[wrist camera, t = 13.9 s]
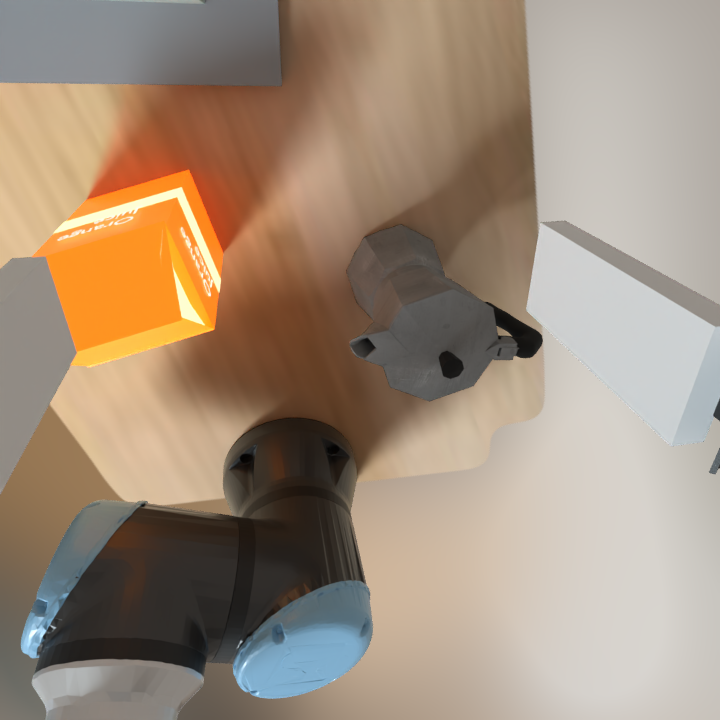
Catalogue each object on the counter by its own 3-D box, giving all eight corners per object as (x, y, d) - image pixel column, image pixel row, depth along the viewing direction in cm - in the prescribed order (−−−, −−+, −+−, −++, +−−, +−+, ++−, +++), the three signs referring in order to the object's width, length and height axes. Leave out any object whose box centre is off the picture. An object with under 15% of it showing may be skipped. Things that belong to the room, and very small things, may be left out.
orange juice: (224, 254, 48) (211, 375, 31) (129, 282, 47) (64, 420, 31) (188, 166, 43) (151, 252, 27) (83, 197, 43) (-21, 303, 26)
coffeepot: (321, 313, 52) (352, 428, 37) (329, 219, 48) (367, 306, 33) (468, 315, 56) (550, 422, 41) (489, 227, 51) (590, 310, 36)
